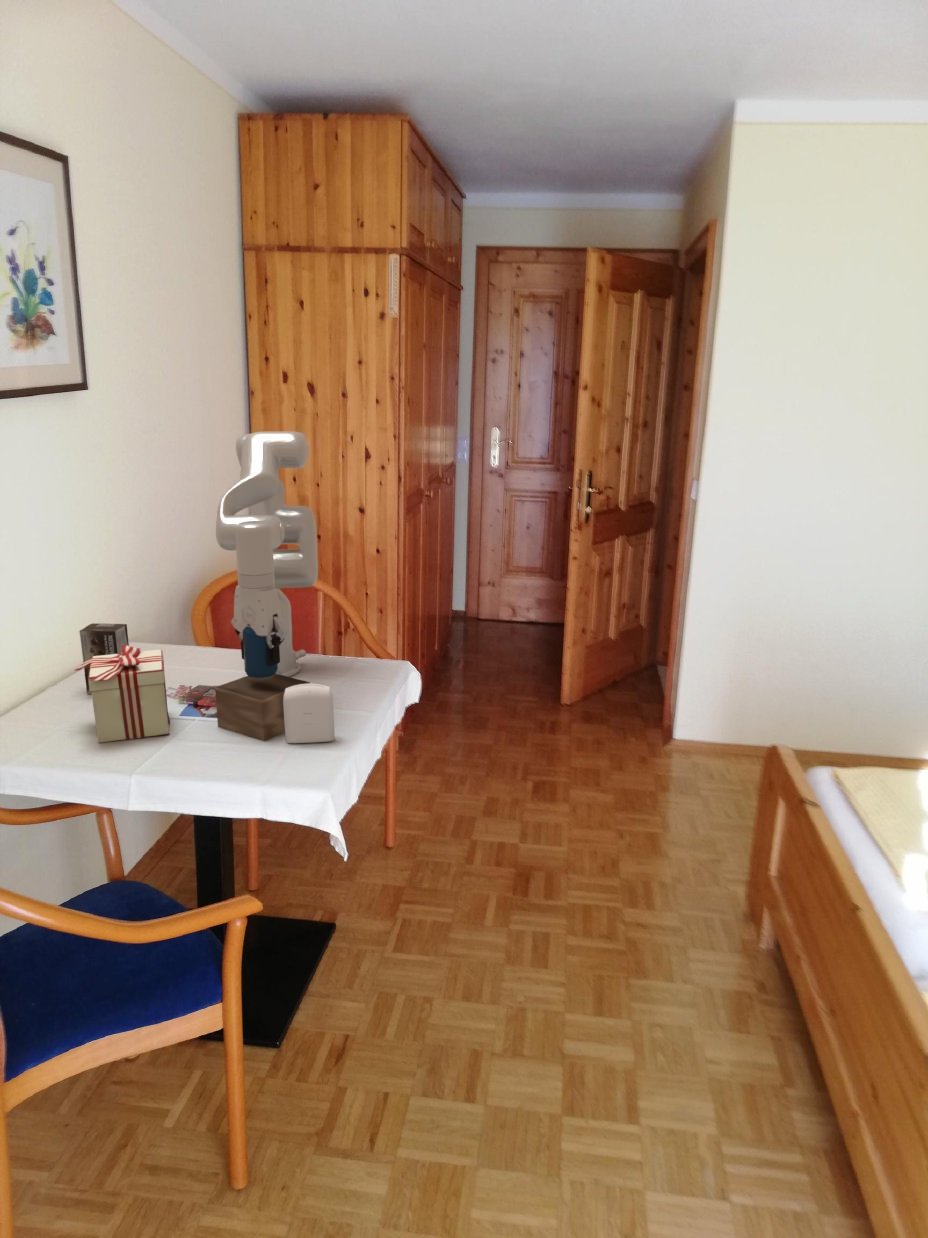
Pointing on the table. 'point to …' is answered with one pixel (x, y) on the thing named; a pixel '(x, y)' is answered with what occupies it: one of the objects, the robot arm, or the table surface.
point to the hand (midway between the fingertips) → (260, 660)
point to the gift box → (128, 694)
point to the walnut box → (254, 705)
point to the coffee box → (101, 642)
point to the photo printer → (308, 713)
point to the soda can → (256, 655)
